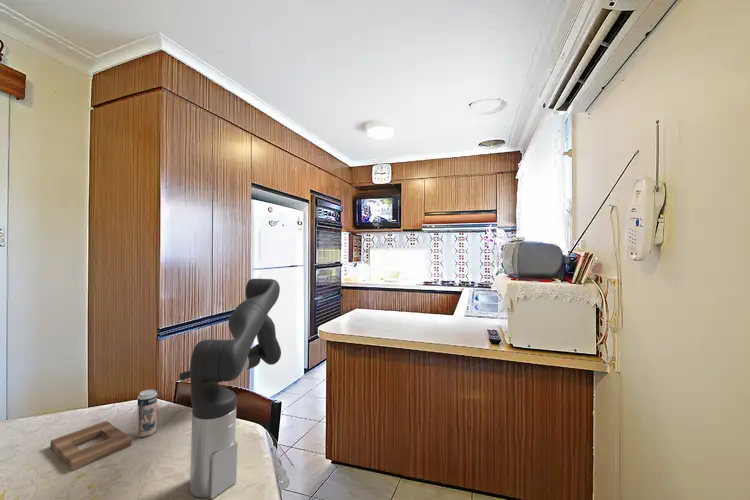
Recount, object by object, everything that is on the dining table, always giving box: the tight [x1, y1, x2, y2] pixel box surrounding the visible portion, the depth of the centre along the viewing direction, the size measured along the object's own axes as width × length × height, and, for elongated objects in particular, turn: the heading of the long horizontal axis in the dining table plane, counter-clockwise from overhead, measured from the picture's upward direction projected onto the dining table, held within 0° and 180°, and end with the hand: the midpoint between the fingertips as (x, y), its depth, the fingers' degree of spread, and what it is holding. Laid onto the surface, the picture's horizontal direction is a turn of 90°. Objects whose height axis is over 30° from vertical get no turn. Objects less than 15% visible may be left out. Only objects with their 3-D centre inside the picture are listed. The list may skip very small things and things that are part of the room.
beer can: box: [136, 389, 158, 438], centre depth 93 cm, size 5×5×12 cm
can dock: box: [49, 420, 132, 472], centre depth 86 cm, size 16×12×2 cm
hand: (187, 380), depth 102 cm, fingers open, 8 cm apart
